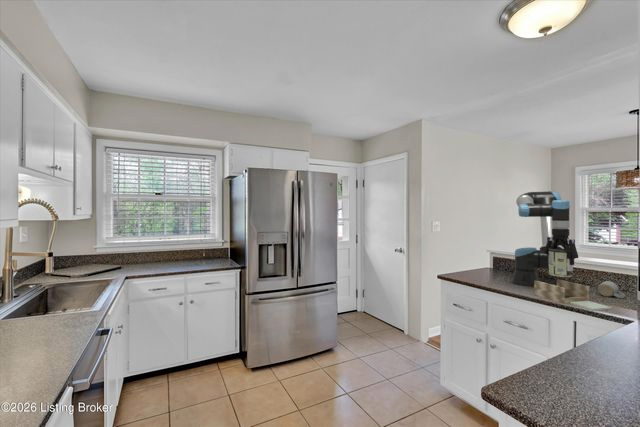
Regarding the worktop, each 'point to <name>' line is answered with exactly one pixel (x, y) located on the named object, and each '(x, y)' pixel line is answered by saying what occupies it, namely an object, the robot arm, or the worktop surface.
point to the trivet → (590, 305)
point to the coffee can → (558, 263)
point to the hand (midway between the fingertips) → (560, 268)
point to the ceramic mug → (609, 289)
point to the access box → (562, 291)
